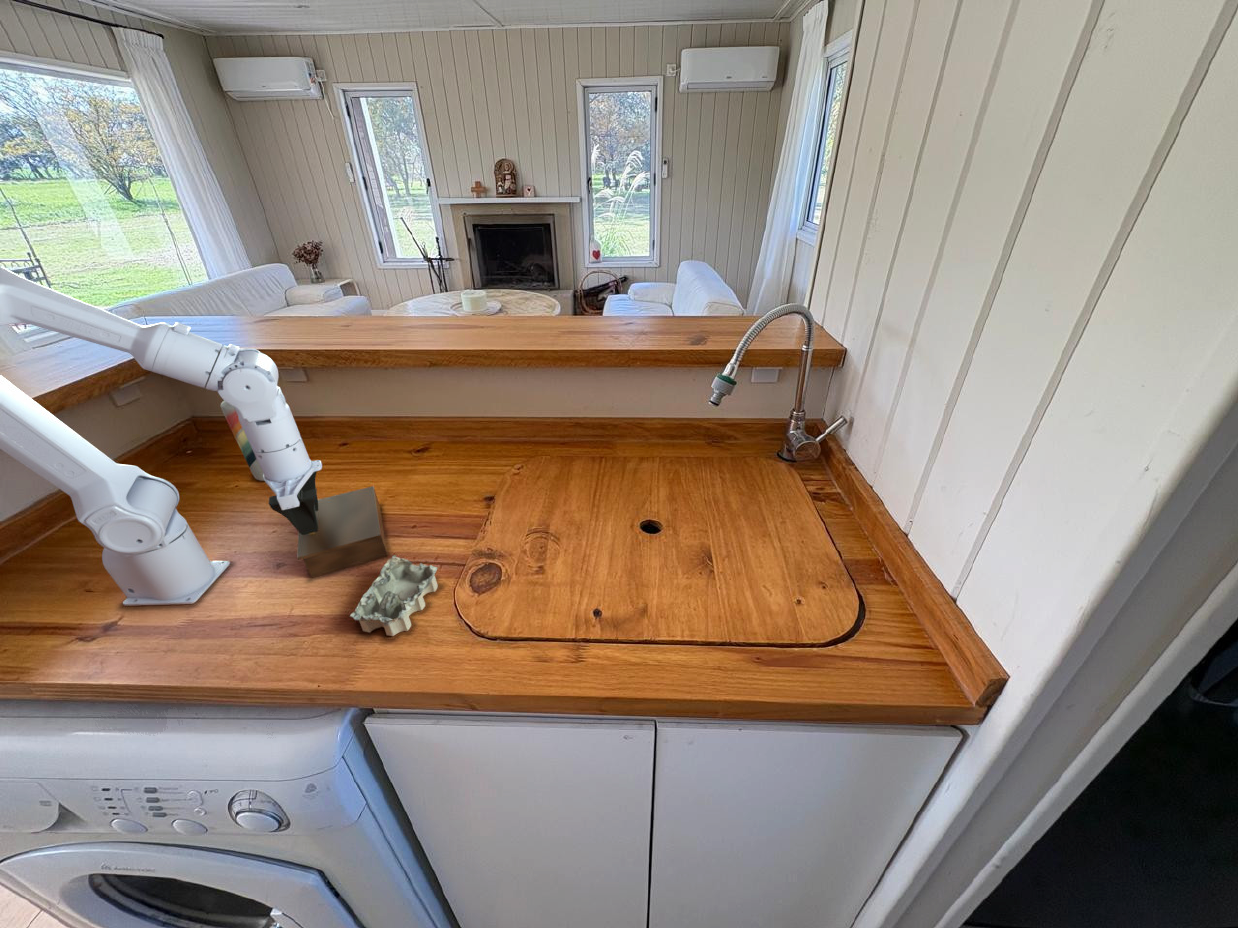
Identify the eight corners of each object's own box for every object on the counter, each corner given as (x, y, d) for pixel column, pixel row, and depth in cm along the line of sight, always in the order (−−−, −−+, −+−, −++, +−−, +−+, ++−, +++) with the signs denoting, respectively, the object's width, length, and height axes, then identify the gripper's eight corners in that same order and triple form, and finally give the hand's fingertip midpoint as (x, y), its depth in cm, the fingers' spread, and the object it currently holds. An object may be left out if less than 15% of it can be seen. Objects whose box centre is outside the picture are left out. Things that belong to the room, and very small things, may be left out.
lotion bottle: (256, 469, 96) (210, 371, 85) (290, 462, 98) (249, 366, 87) (252, 484, 91) (203, 383, 81) (287, 477, 93) (244, 377, 83)
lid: (298, 560, 69) (286, 535, 66) (301, 506, 79) (291, 482, 77) (381, 537, 73) (373, 513, 70) (374, 488, 84) (366, 465, 81)
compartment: (311, 578, 71) (303, 559, 69) (313, 522, 82) (305, 505, 80) (387, 556, 75) (381, 537, 73) (379, 505, 86) (374, 488, 84)
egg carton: (401, 572, 72) (394, 551, 70) (447, 581, 70) (442, 560, 68) (349, 630, 63) (340, 607, 61) (401, 642, 61) (393, 619, 59)
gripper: (309, 459, 63) (341, 541, 70) (311, 414, 74) (339, 489, 81) (243, 473, 60) (284, 557, 67) (256, 425, 71) (289, 501, 78)
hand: (310, 521), depth 74 cm, fingers closed on lid, 5 cm apart
